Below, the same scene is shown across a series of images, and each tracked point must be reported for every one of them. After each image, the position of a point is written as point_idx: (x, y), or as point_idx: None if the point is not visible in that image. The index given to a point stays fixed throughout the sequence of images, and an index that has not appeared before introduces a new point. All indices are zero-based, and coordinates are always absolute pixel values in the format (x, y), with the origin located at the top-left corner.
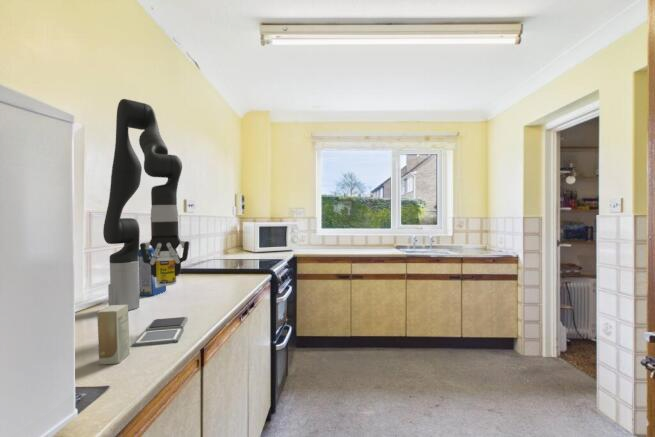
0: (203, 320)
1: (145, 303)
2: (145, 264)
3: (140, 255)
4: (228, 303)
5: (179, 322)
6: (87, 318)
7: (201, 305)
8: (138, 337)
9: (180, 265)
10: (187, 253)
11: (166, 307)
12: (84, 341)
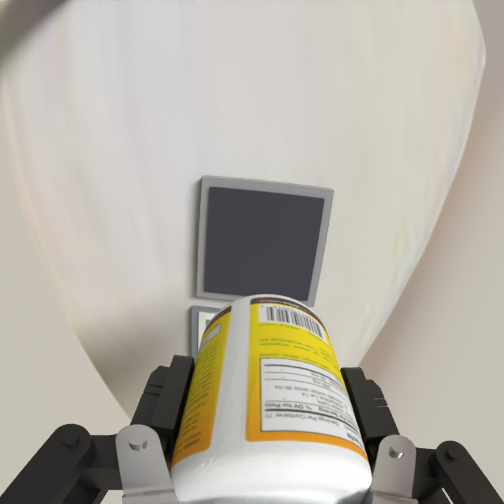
0: (383, 218)
1: None
2: None
3: None
4: (459, 19)
5: (304, 273)
6: (6, 57)
7: None
8: (192, 350)
9: (389, 431)
10: (478, 490)
11: None
12: (64, 300)
